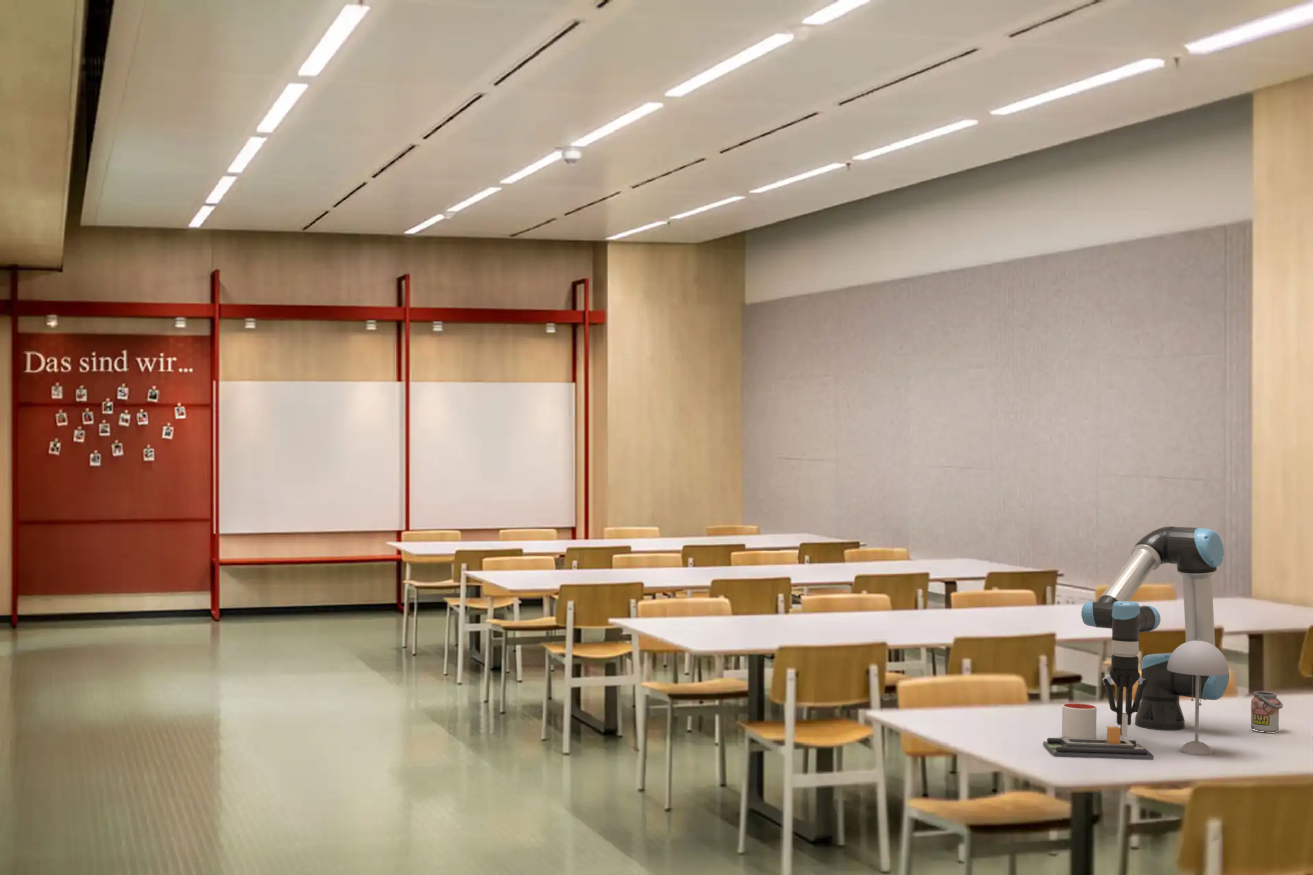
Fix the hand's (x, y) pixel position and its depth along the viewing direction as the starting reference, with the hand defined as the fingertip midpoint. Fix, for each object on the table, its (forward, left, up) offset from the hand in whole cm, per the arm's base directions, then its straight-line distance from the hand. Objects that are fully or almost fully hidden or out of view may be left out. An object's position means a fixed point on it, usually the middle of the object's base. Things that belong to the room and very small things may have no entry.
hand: (1123, 736), depth 434 cm
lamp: (-23, -6, -5) cm, 24 cm away
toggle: (+3, 0, -4) cm, 5 cm away
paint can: (-55, -42, -5) cm, 69 cm away
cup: (+8, -20, -5) cm, 22 cm away
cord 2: (+8, +6, -4) cm, 11 cm away
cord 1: (+8, -7, -4) cm, 11 cm away
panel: (+7, 0, -5) cm, 9 cm away
